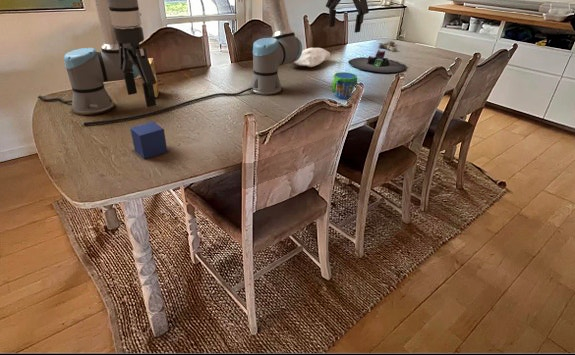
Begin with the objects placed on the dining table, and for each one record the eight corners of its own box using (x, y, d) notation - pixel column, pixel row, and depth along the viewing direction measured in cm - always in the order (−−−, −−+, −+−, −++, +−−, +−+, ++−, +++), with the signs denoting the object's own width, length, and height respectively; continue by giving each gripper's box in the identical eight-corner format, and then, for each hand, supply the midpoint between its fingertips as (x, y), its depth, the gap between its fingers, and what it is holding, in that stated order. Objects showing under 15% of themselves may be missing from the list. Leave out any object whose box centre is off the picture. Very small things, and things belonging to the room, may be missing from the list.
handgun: (406, 44, 264) (388, 40, 272) (394, 47, 252) (376, 43, 260) (405, 48, 265) (387, 44, 273) (394, 52, 254) (375, 47, 262)
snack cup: (348, 90, 181) (350, 70, 176) (362, 97, 174) (365, 76, 168) (323, 95, 174) (325, 74, 168) (337, 102, 166) (340, 80, 161)
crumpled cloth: (269, 61, 216) (271, 46, 210) (311, 52, 236) (313, 38, 230) (296, 77, 203) (298, 61, 198) (337, 66, 223) (341, 52, 218)
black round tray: (418, 67, 219) (420, 52, 215) (377, 75, 202) (379, 59, 197) (375, 58, 244) (377, 43, 239) (336, 64, 226) (337, 49, 222)
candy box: (157, 97, 164) (152, 63, 155) (147, 98, 163) (141, 63, 155) (158, 91, 171) (153, 57, 163) (149, 91, 170) (143, 58, 162)
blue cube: (144, 159, 118) (139, 135, 113) (134, 150, 122) (129, 127, 118) (167, 151, 123) (163, 128, 118) (157, 143, 127) (153, 121, 123)
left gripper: (161, 32, 96) (172, 108, 107) (123, 19, 111) (136, 87, 122) (133, 35, 91) (147, 114, 103) (97, 21, 107) (113, 91, 118)
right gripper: (383, -28, 134) (374, 33, 145) (332, -32, 149) (327, 23, 160) (371, -27, 129) (362, 35, 141) (320, -32, 144) (316, 25, 156)
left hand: (141, 99), depth 113 cm, fingers open, 13 cm apart
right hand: (344, 29), depth 150 cm, fingers open, 13 cm apart
